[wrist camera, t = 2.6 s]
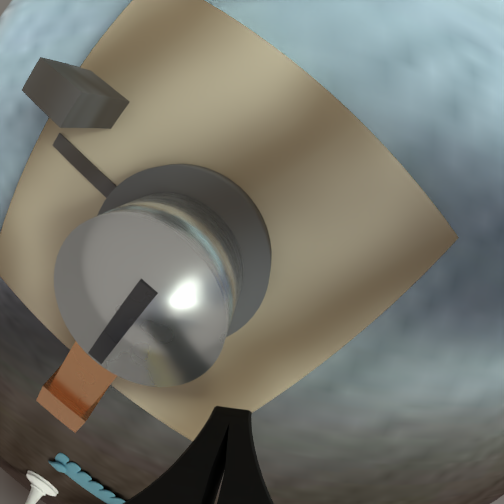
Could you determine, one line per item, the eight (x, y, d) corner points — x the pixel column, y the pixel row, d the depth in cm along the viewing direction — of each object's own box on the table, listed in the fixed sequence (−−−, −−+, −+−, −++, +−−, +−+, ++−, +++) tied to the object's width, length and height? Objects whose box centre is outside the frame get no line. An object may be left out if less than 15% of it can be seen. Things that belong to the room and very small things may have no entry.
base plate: (445, 229, 11) (502, 266, 7) (203, 429, 16) (186, 487, 12) (167, -13, 9) (123, -62, 5) (5, 257, 14) (-46, 286, 10)
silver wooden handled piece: (156, 160, 9) (101, 170, 6) (276, 265, 10) (271, 317, 7) (43, 350, 12) (7, 387, 9) (119, 414, 13) (94, 459, 10)
